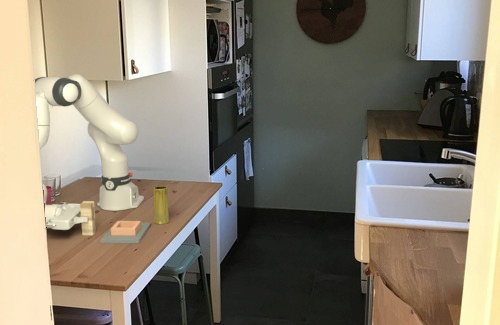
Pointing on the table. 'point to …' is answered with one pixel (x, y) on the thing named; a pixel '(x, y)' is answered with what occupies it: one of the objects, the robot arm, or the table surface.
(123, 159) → the robot arm
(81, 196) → the table surface
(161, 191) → the vase
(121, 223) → the socket board
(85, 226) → the oak post
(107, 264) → the table surface
